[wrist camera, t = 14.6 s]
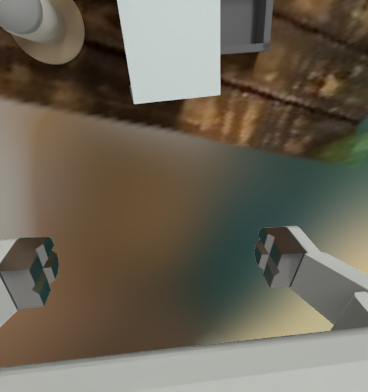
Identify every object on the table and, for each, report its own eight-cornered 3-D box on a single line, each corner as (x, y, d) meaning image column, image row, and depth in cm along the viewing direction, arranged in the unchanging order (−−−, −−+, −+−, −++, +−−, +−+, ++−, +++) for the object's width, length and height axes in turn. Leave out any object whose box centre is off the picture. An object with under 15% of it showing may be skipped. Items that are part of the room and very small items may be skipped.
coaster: (-9, 21, 29) (-12, 20, 29) (33, -43, 28) (31, -45, 27) (58, 79, 34) (57, 79, 33) (99, 27, 32) (98, 26, 31)
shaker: (15, 22, 29) (-37, -2, 20) (38, -11, 29) (-5, -53, 19) (52, 54, 32) (21, 47, 22) (74, 25, 31) (51, 4, 21)
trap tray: (198, 56, 36) (204, 55, 34) (195, -31, 31) (201, -40, 29) (259, 52, 38) (269, 50, 35) (264, -32, 33) (276, -41, 30)
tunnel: (130, 92, 36) (134, 104, 23) (102, -75, 28) (84, -200, 15) (187, 87, 38) (220, 95, 25) (177, -74, 29) (220, -188, 16)
